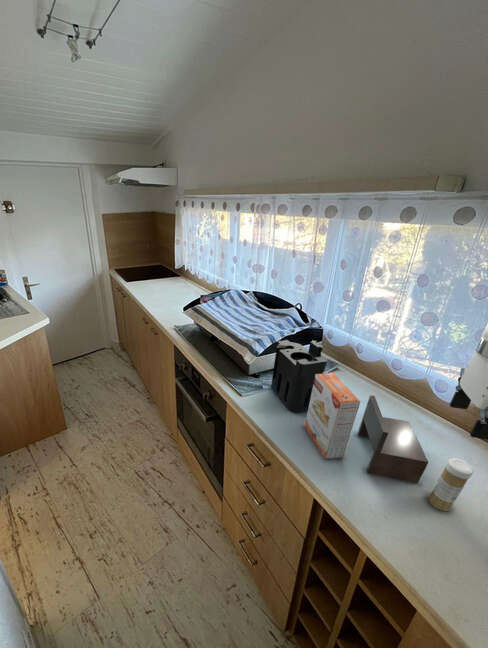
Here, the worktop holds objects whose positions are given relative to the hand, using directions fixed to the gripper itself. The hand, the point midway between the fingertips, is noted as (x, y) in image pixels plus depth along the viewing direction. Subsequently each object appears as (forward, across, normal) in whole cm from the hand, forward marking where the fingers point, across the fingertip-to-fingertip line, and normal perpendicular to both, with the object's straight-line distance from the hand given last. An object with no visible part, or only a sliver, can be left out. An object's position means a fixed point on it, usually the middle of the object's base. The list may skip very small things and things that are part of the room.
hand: (468, 421), depth 65 cm
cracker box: (+25, +13, +24) cm, 37 cm away
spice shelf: (+25, +12, +7) cm, 29 cm away
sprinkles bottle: (+25, -1, -2) cm, 25 cm away
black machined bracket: (+24, +35, +34) cm, 54 cm away
